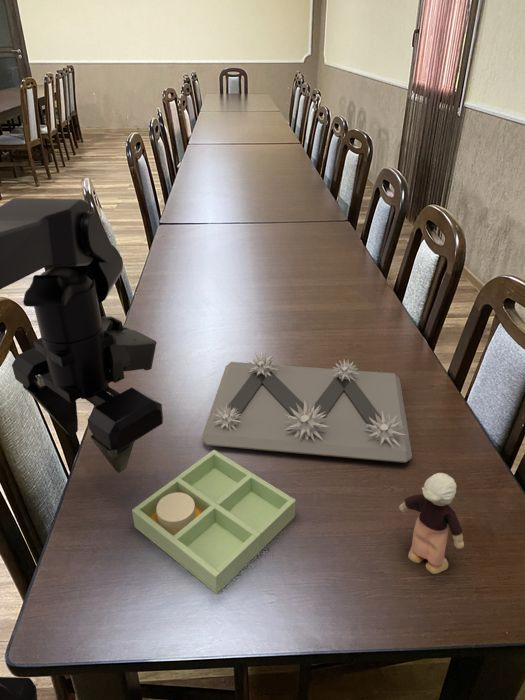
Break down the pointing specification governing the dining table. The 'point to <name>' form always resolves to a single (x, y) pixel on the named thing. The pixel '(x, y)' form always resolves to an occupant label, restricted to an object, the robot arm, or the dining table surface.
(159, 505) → the cylinder
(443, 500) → the grandmother figurine
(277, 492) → the grid
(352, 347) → the dining table surface
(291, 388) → the decorative plate
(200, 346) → the dining table surface
